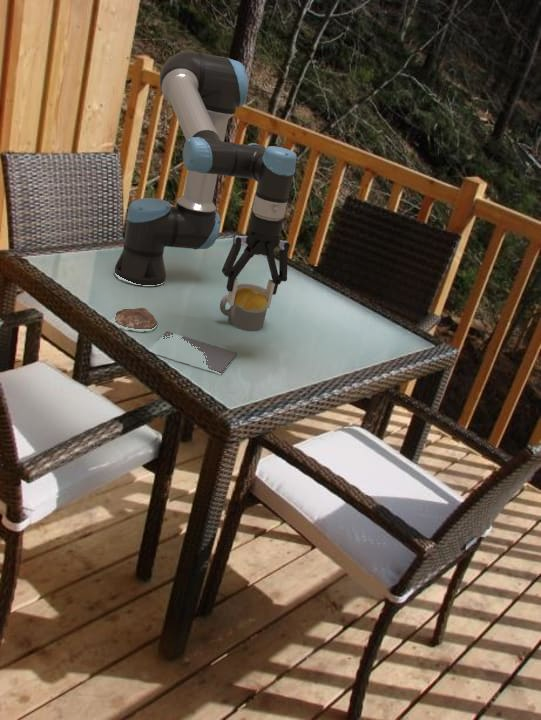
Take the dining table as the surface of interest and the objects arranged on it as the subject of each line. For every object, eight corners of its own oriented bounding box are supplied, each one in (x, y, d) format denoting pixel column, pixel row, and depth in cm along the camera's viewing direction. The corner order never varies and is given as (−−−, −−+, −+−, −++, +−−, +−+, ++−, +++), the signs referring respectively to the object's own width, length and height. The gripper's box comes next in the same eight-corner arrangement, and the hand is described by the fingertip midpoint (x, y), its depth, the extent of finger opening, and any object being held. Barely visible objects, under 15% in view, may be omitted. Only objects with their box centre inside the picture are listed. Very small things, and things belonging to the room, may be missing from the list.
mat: (146, 352, 171) (146, 349, 171) (166, 333, 183) (167, 331, 182) (221, 375, 168) (221, 372, 168) (236, 355, 180) (237, 352, 180)
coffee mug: (259, 317, 206) (266, 285, 202) (266, 332, 197) (273, 299, 193) (213, 312, 202) (219, 279, 198) (218, 327, 193) (225, 293, 189)
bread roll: (254, 316, 171) (257, 301, 169) (225, 302, 175) (228, 287, 173) (273, 310, 178) (277, 295, 176) (245, 296, 182) (248, 282, 180)
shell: (164, 322, 190) (166, 309, 189) (146, 338, 179) (148, 325, 177) (124, 310, 191) (125, 297, 190) (103, 325, 180) (105, 312, 178)
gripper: (228, 215, 160) (210, 308, 169) (315, 226, 168) (293, 313, 177) (219, 205, 166) (202, 295, 175) (303, 216, 174) (283, 301, 184)
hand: (248, 304), depth 176 cm, fingers closed on bread roll, 9 cm apart
